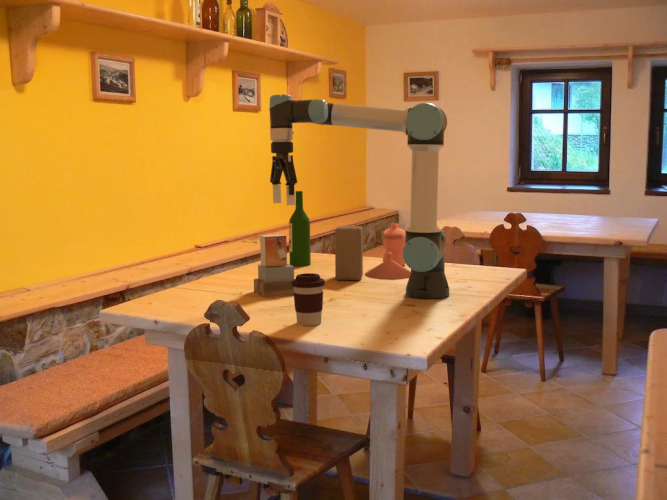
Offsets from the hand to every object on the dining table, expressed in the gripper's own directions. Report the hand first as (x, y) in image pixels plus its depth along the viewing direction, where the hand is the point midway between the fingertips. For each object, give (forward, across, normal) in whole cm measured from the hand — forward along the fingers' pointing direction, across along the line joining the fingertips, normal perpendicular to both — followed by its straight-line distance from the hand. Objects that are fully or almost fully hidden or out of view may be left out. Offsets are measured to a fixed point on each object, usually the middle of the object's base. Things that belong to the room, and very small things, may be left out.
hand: (283, 204), depth 252 cm
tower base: (+31, +2, +3) cm, 31 cm away
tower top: (+26, +2, +3) cm, 26 cm away
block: (+31, +18, -33) cm, 49 cm away
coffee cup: (+34, -35, +6) cm, 49 cm away
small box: (+21, +2, +4) cm, 22 cm away
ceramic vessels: (+32, +24, -54) cm, 67 cm away
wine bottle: (+31, +54, -26) cm, 67 cm away
